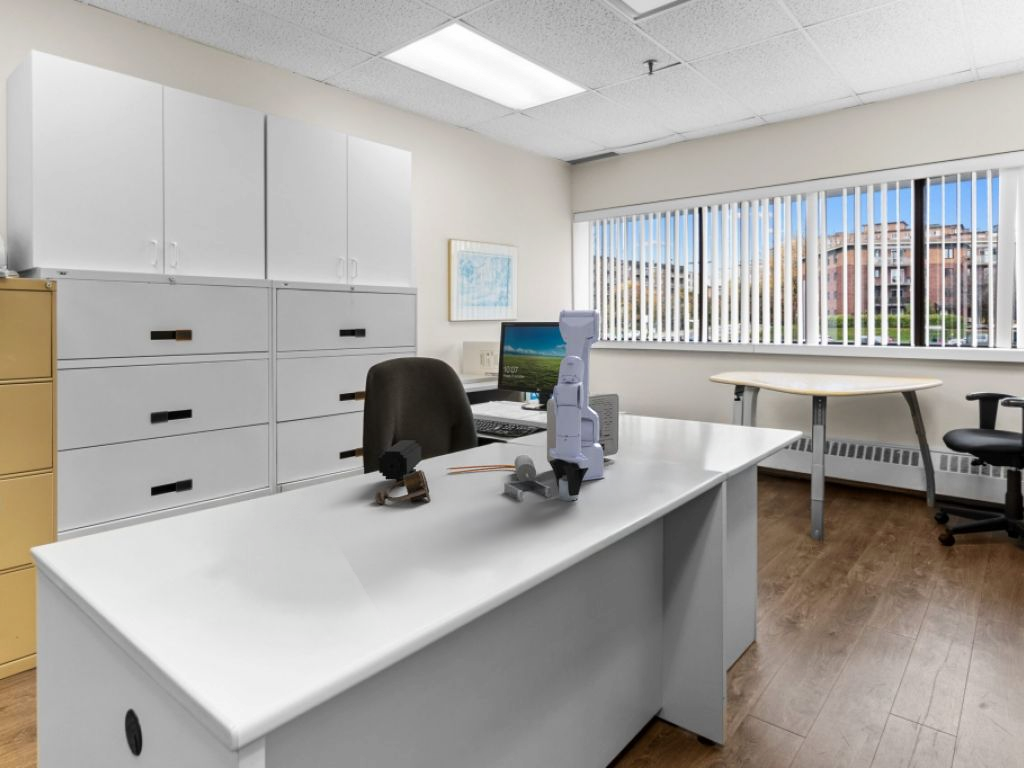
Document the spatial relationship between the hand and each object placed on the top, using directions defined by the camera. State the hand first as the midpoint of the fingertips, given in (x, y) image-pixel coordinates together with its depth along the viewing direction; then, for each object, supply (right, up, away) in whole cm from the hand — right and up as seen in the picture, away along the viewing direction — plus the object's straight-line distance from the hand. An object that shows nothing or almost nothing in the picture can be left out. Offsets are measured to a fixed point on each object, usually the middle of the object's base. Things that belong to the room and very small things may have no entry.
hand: (568, 492), depth 147 cm
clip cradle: (-10, -1, +4) cm, 11 cm away
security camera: (-41, 0, +16) cm, 44 cm away
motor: (-19, 0, +19) cm, 27 cm away
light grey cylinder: (0, -1, 0) cm, 1 cm away
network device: (+8, +2, +35) cm, 36 cm away
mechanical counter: (-38, -2, 0) cm, 38 cm away
